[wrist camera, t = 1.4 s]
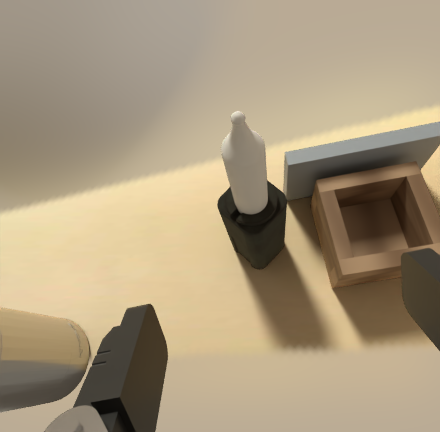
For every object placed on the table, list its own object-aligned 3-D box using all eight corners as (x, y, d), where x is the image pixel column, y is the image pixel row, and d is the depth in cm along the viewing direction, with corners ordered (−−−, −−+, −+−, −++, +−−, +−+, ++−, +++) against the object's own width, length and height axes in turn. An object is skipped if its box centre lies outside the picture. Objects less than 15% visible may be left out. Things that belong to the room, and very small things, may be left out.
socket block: (331, 288, 39) (342, 275, 33) (310, 206, 43) (316, 179, 37) (426, 273, 38) (456, 256, 32) (395, 190, 42) (416, 161, 36)
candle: (288, 243, 42) (302, 107, 19) (259, 273, 41) (238, 169, 18) (257, 217, 44) (236, 65, 21) (229, 245, 43) (175, 119, 20)
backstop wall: (285, 200, 44) (288, 165, 36) (283, 189, 45) (284, 152, 36) (414, 177, 43) (447, 134, 34) (410, 165, 43) (441, 121, 35)
